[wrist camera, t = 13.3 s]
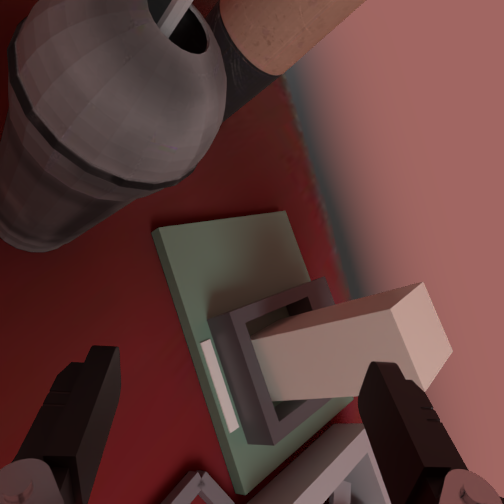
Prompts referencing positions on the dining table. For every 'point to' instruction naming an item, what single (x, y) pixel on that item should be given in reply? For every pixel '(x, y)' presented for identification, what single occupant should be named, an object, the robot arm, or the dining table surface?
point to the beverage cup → (103, 112)
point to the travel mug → (268, 39)
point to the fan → (307, 475)
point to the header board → (243, 332)
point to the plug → (352, 345)
